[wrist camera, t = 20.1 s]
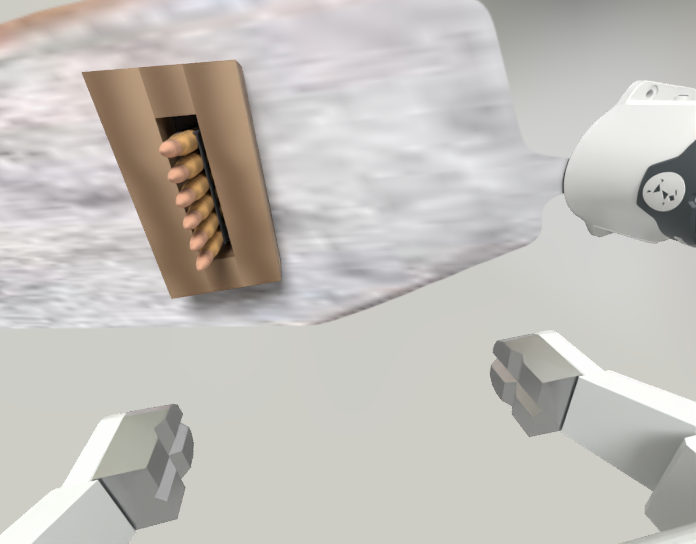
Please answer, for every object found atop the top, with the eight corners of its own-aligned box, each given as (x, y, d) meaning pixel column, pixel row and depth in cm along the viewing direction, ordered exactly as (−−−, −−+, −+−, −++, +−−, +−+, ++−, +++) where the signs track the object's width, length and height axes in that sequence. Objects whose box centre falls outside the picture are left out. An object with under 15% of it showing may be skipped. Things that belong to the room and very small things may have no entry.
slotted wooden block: (241, 66, 30) (235, 59, 26) (280, 261, 40) (281, 280, 35) (111, 77, 29) (81, 72, 25) (183, 276, 38) (171, 298, 34)
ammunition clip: (232, 229, 37) (214, 279, 26) (215, 231, 37) (190, 282, 26) (207, 125, 32) (171, 135, 22) (187, 126, 32) (141, 138, 21)
